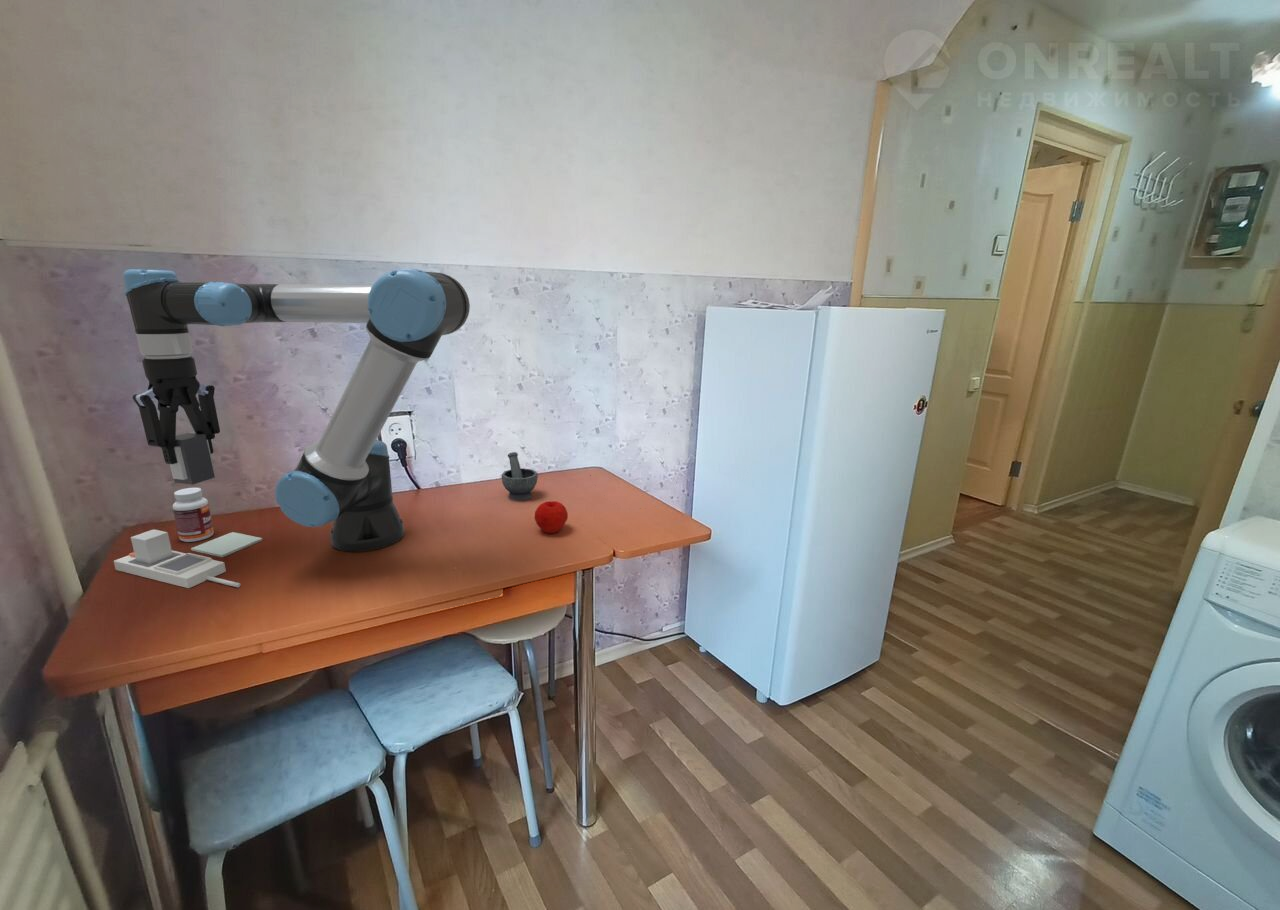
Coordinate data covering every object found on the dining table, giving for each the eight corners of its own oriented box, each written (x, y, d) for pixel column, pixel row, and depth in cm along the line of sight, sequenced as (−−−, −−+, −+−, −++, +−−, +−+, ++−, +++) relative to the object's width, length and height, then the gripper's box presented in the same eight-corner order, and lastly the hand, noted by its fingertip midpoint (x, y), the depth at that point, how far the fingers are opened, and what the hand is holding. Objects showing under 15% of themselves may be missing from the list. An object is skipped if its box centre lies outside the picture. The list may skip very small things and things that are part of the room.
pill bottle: (213, 539, 122) (204, 493, 119) (177, 545, 118) (167, 497, 115) (215, 529, 127) (206, 484, 123) (181, 534, 123) (171, 489, 120)
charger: (215, 477, 110) (205, 434, 108) (192, 484, 106) (182, 440, 103) (198, 475, 111) (188, 432, 109) (174, 482, 107) (163, 438, 104)
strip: (256, 578, 106) (250, 545, 104) (220, 596, 99) (212, 561, 97) (155, 554, 114) (148, 523, 112) (116, 569, 107) (107, 537, 105)
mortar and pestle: (542, 499, 152) (542, 458, 148) (510, 505, 147) (509, 463, 143) (527, 487, 161) (526, 448, 157) (496, 492, 156) (494, 452, 152)
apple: (555, 521, 137) (555, 493, 135) (574, 531, 132) (574, 502, 130) (528, 529, 132) (527, 501, 130) (547, 540, 126) (547, 511, 124)
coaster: (262, 540, 122) (262, 538, 122) (222, 557, 114) (221, 555, 113) (232, 534, 124) (232, 532, 124) (191, 550, 116) (190, 548, 116)
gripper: (199, 351, 111) (221, 460, 117) (97, 360, 94) (130, 486, 101) (228, 353, 109) (249, 463, 116) (130, 362, 93) (161, 490, 99)
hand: (194, 474), depth 108 cm, fingers closed on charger, 5 cm apart
